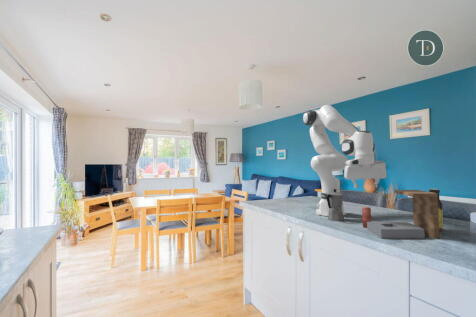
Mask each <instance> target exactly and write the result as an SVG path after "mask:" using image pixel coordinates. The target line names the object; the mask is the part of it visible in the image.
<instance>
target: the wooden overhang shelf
mask: <svg viewBox="0 0 476 317" xmlns="http://www.w3.org/2000/svg"><path fill="white" fill-rule="evenodd" d="M394 192H395V193H394V194H398V195H401V196H402V195H403V196H406V197H410V198H412V214H413V215H412V216H413V225H415V226H418V227H420V228H423V229H424V235H425V236H428V237H430V238H432V239H440V231H439V219H438V198H437V193H433V192H429V191H426V190H420V189H395V190H394Z"/></svg>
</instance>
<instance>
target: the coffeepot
mask: <svg viewBox="0 0 476 317" xmlns="http://www.w3.org/2000/svg"><path fill="white" fill-rule="evenodd" d="M333 190H334V192H332V193H328V194H327V202H328V206H329V215H328V216H327V219H328V220H329V221H332V222H342V221H344V220H345V215H343V211H342V201H343V199H344V193H341V192H340V193H337V192H336V189H333ZM343 202H344V201H343Z"/></svg>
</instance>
